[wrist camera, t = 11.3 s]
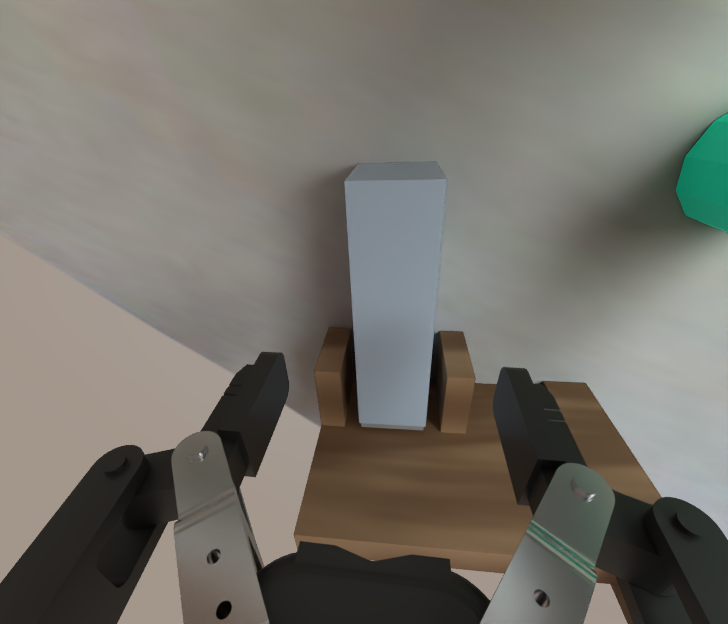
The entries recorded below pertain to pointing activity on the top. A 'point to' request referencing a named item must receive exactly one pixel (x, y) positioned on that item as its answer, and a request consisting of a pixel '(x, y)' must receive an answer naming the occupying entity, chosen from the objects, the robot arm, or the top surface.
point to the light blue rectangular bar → (394, 286)
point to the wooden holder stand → (439, 468)
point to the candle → (707, 177)
